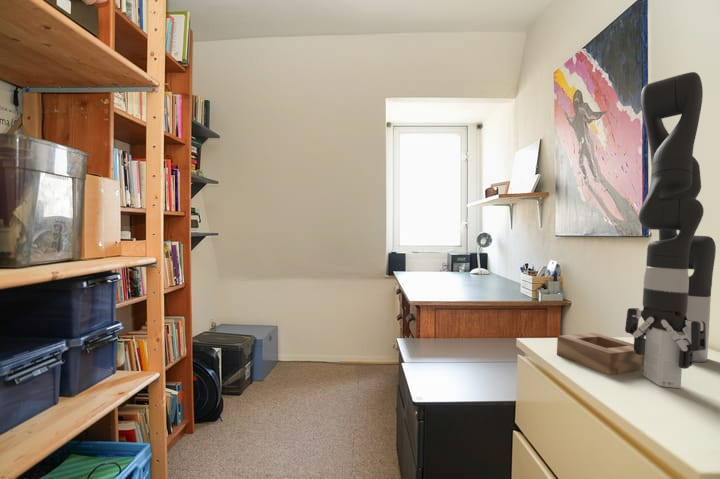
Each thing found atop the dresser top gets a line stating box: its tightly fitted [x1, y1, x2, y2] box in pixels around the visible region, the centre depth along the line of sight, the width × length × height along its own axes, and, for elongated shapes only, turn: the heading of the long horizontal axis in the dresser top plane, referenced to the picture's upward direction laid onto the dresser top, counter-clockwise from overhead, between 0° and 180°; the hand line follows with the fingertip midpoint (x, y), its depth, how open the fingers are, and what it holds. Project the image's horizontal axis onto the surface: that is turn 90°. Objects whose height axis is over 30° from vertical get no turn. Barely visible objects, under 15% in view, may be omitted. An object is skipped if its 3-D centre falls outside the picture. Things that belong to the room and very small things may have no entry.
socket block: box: [556, 332, 645, 376], centre depth 90 cm, size 14×14×5 cm
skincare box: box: [643, 327, 684, 389], centre depth 78 cm, size 6×4×12 cm
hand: (660, 360), depth 78 cm, fingers open, 8 cm apart
